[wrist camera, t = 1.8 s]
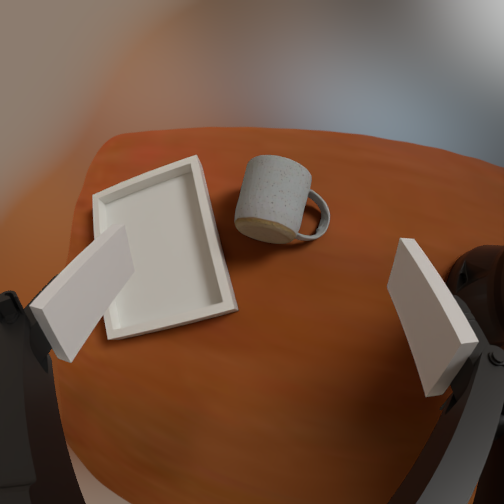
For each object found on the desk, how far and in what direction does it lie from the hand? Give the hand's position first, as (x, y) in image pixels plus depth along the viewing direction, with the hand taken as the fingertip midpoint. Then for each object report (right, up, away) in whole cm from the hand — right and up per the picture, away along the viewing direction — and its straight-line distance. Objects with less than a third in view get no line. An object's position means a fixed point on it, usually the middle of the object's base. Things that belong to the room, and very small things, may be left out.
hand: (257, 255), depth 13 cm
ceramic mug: (+4, +5, +23) cm, 24 cm away
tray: (-12, 0, +23) cm, 26 cm away
